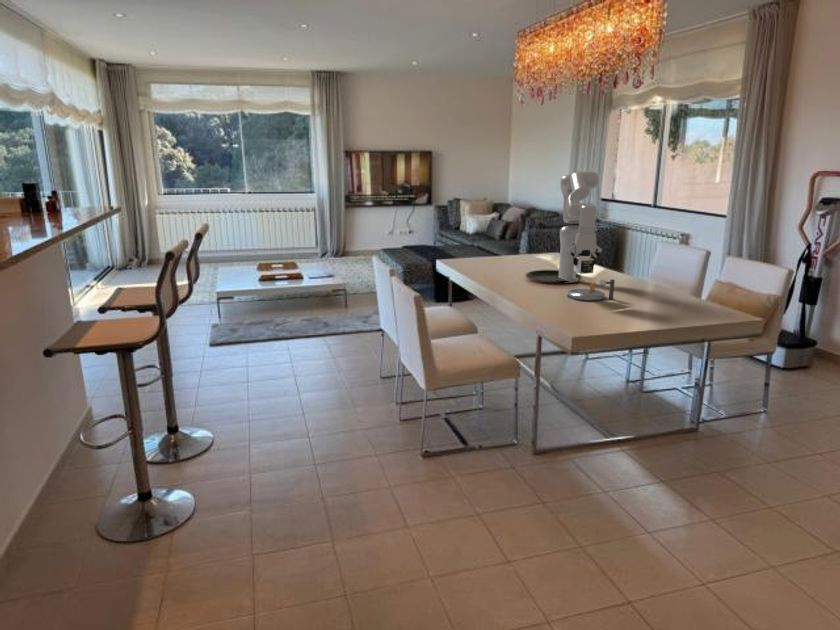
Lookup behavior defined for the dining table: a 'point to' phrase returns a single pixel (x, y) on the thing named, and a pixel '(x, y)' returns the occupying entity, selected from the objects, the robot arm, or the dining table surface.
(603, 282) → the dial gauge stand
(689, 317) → the dining table surface
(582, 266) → the medicine bottle
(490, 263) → the dining table surface
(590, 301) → the base
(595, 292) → the disc
